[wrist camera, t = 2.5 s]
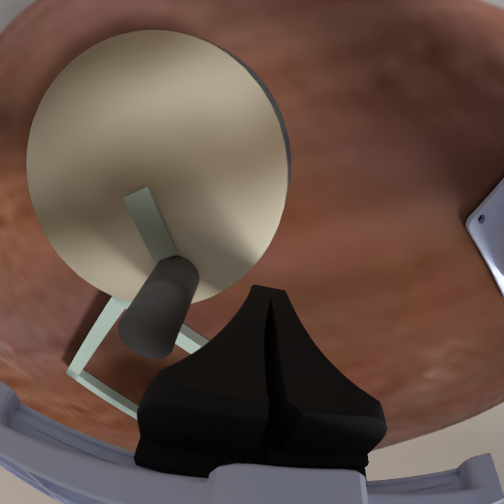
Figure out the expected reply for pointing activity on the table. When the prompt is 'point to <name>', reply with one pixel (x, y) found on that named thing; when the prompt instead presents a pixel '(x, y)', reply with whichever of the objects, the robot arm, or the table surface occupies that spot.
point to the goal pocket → (101, 327)
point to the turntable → (157, 175)
